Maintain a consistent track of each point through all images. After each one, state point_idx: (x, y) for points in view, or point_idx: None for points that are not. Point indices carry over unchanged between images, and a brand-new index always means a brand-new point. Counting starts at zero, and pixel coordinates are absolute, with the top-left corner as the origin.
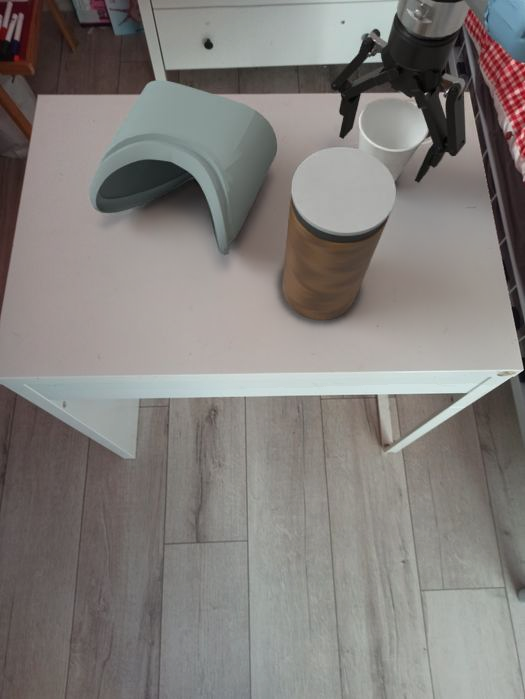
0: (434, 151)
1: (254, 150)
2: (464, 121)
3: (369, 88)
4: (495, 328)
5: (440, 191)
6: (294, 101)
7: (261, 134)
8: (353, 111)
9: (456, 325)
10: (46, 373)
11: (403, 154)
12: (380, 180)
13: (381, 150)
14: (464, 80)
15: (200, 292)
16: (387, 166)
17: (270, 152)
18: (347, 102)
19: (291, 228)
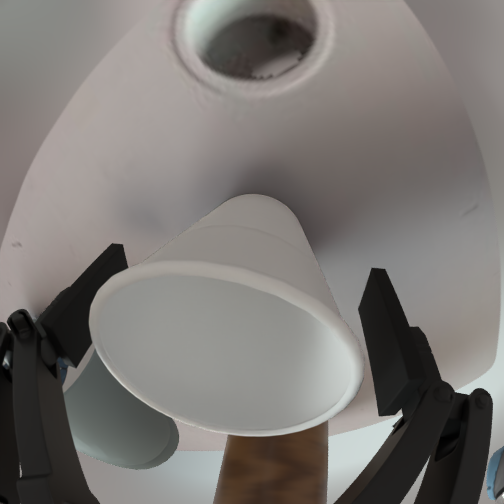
0: (397, 422)
1: (94, 432)
2: (480, 481)
3: (76, 456)
4: (484, 355)
5: (410, 200)
6: (32, 171)
7: (74, 417)
8: (87, 311)
9: (446, 374)
10: None
11: (307, 403)
12: None
13: (244, 424)
14: None
15: (186, 424)
16: (278, 360)
17: (96, 395)
18: (65, 362)
19: None
